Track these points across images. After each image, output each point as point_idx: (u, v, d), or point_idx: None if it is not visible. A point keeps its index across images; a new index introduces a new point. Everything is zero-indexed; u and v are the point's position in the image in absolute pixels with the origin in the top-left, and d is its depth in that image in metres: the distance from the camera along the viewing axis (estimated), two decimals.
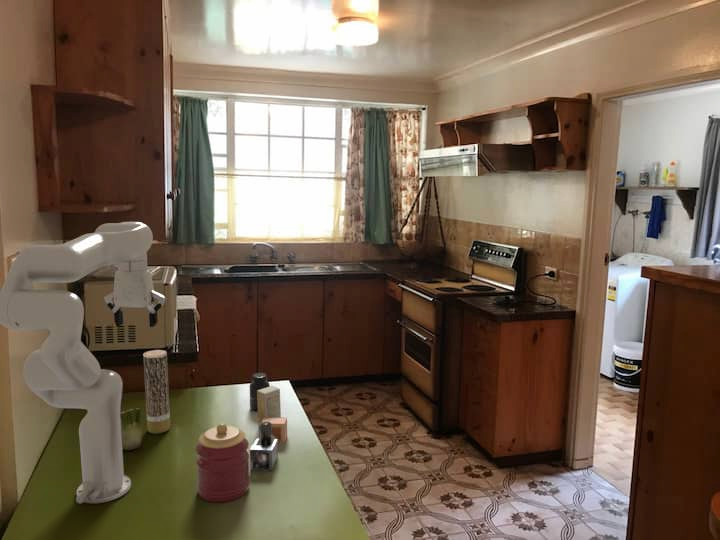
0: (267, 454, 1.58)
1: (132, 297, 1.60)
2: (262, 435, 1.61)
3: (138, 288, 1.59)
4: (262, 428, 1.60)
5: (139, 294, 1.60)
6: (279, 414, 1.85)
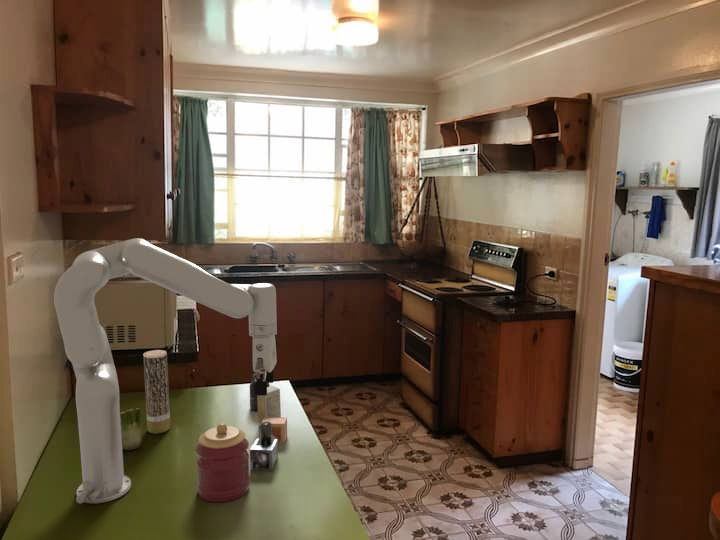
0: (267, 454, 1.58)
1: (274, 357, 1.59)
2: (262, 435, 1.61)
3: (275, 346, 1.61)
4: (262, 428, 1.60)
5: (275, 352, 1.61)
6: (279, 414, 1.85)
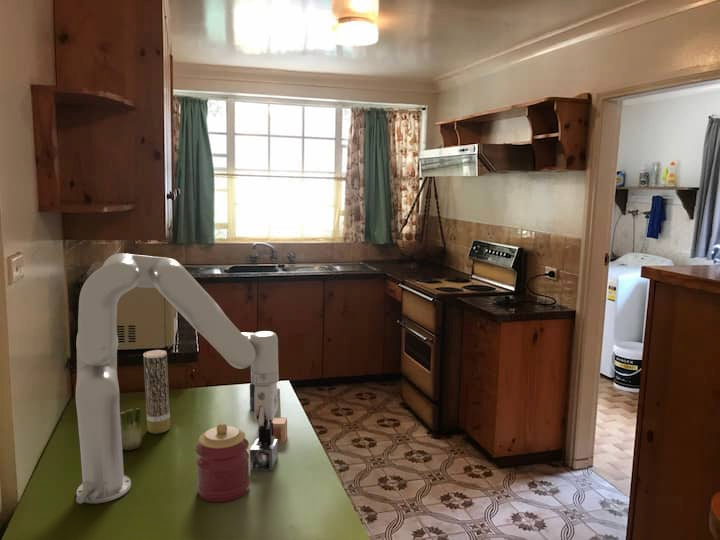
0: (267, 454, 1.58)
1: (275, 404, 1.61)
2: None
3: (276, 393, 1.63)
4: None
5: (276, 398, 1.63)
6: (279, 414, 1.85)
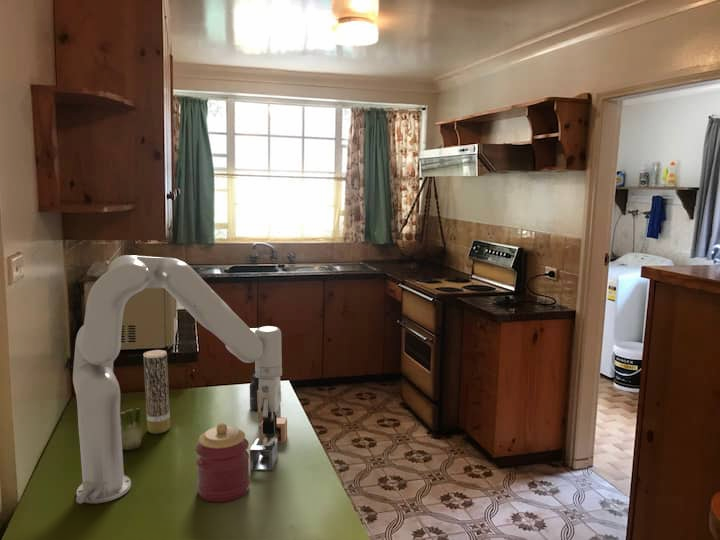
0: (271, 445, 1.63)
1: (279, 397, 1.67)
2: None
3: (280, 386, 1.68)
4: None
5: (280, 391, 1.68)
6: (279, 414, 1.85)
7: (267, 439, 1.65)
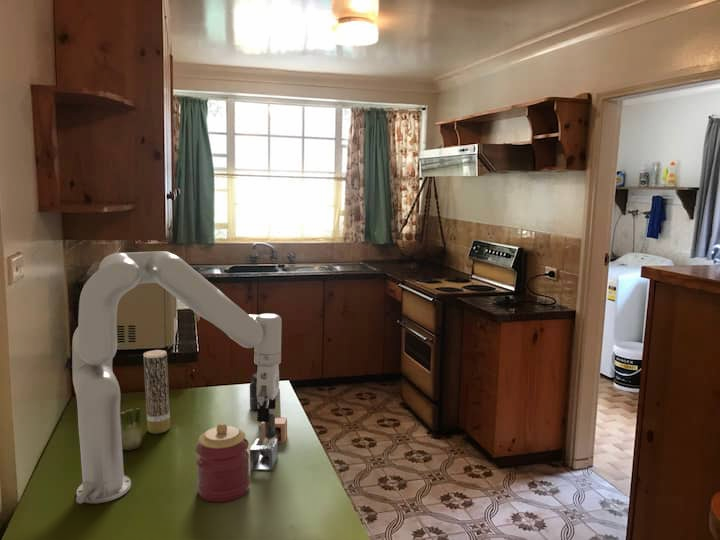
0: (271, 445, 1.63)
1: (277, 385, 1.66)
2: (266, 426, 1.66)
3: (278, 374, 1.67)
4: None
5: (278, 380, 1.68)
6: (279, 414, 1.85)
7: (267, 439, 1.66)
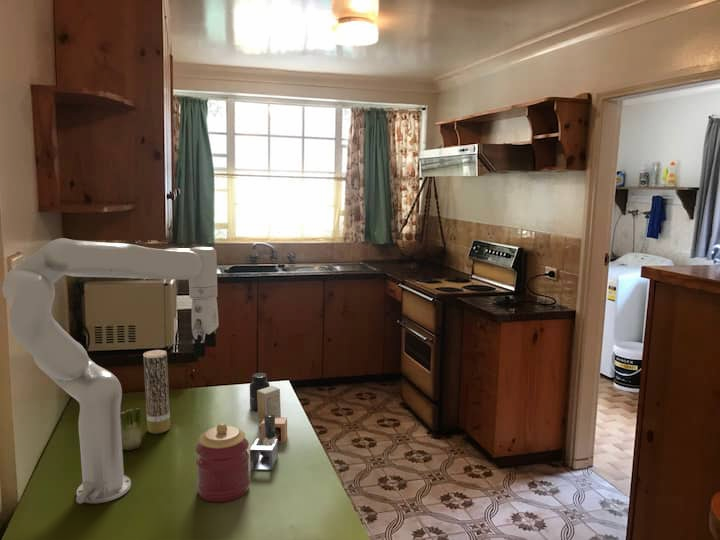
0: (271, 445, 1.63)
1: (214, 320, 1.61)
2: (266, 426, 1.66)
3: (216, 310, 1.63)
4: (266, 420, 1.66)
5: (216, 316, 1.63)
6: (279, 414, 1.85)
7: (267, 439, 1.66)
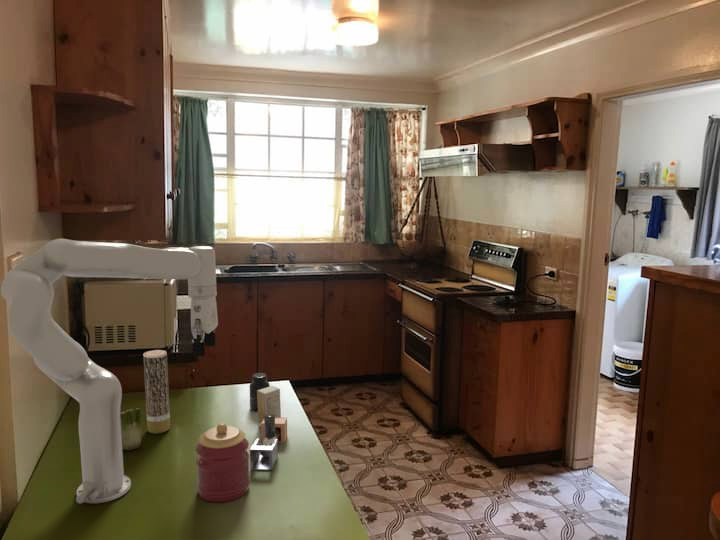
0: (271, 445, 1.63)
1: (214, 320, 1.61)
2: (266, 426, 1.66)
3: (215, 309, 1.63)
4: (266, 420, 1.66)
5: (215, 315, 1.63)
6: (279, 414, 1.85)
7: (267, 439, 1.66)
